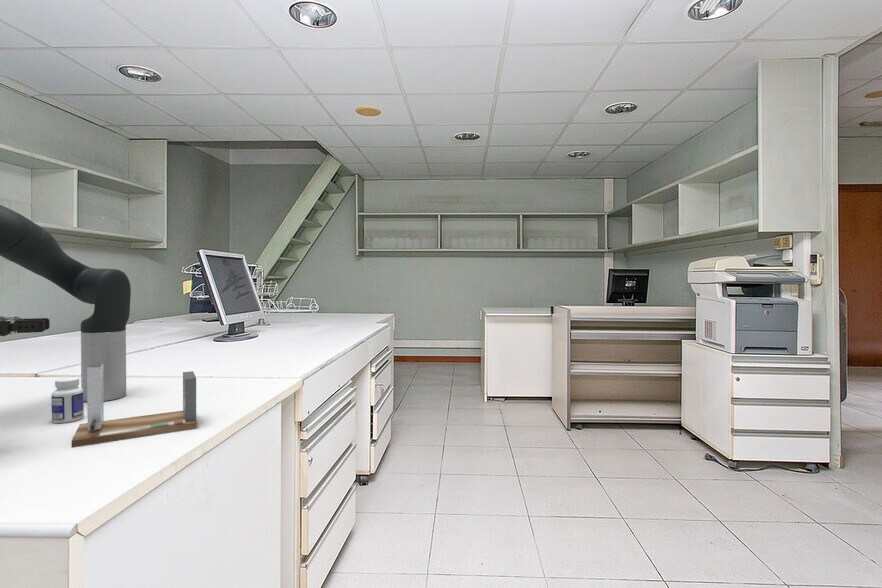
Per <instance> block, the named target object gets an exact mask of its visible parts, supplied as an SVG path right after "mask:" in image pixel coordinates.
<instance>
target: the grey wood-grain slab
mask: <svg viewBox="0 0 882 588" xmlns="http://www.w3.org/2000/svg"><path fill="white" fill-rule="evenodd" d="M182 411H183V414H184V419H185V422H190V421H197V377H196V374H195V373H194V371H183V372H182Z"/></svg>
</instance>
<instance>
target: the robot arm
mask: <svg viewBox="0 0 882 588" xmlns="http://www.w3.org/2000/svg"><path fill="white" fill-rule="evenodd" d="M0 257H2V258H3V259H6V260H8V261H10V262H12V263H14V264H16V265H19V266H20V267H22V268H24V269H26V270H28V271H30V272H31V273H33V274H36V275H38V276H40V277H42V278H45V279H46V280H48V281H49V282H52V283H53V284H55V285H56V286H58V287H59V288H60V289H62V290H63V291H65V292H67V293H68V294H69V295H70V296H72V297H74V298H75V299H76V300H78V301H80V302H82V303H84V304H89V305H93V306H94V307H93V312H92V314H91V315H90V316H89V317H88V318H87V317H86V318H85V319H83V320H82V321H81V323H80V377H81V378H80V388H82V389H83V402H86V403H87V367H88V366H89V365H90V363H97V362H103V391H104V402H105V401H112V400H116V399H121V398H124V397H126V396H127V330H126V329H127V323H128V321H129V318H130V311H131V298H132V297H131V295H132V294H131V293H132V292H131V291H132V289H131V287H132V286H131V283H130V280H129V277H128V275H127V274H126V273H125V272H124V271H122V270H120V269H116V268H95V267H90V266H88V265H86V264H83V263H81V262H80V261H78V260H77V259H74V258H72V257H71V256H69V255H68V254H67V253H66V252H65V251H64V250H63V249H62V248H61V245H60V244H59V242H58V241H57V240H56V238H55V237H54V236H53V235H52V234H51V233H49V231H48V230H46V229H44V227H42V226H40V225H38V224H37V223H36V222H33V221H32V220H30V219H29V218H27V217H26V216H24V215H22V214H21V213H19V212H18V211H15V210H13V209H11V208H8V207H6V206H5V205H4V206H3V205H2V204H0ZM50 323H51V322H50V318H48V317H44V318H43V317H38V318H37V317H36V318H23V317H19V316H14V317H9V316H7V317H6V316H4V315H0V337H6V336H14V335H16V334H27V333H28V334H29V333H43V332H45V331H46V330H49V329H50Z"/></svg>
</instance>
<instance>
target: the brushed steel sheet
mask: <svg viewBox="0 0 882 588" xmlns="http://www.w3.org/2000/svg"><path fill="white" fill-rule="evenodd" d="M86 403H87V406H86V407H87V411H86V412H87V414H86V415H87V423H88V431H89V430H97V429H101V427H102V424H103V421H105V420H104V419H105V417H104V415H105V413H104V406H105V404H104V403H105V401H104V391H103V362H97V363H90V365H89V366H88V367H87V402H86Z"/></svg>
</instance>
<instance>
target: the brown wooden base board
mask: <svg viewBox="0 0 882 588" xmlns="http://www.w3.org/2000/svg"><path fill="white" fill-rule="evenodd" d="M194 429H198V422H197V420H196V421H190V422H185V419H184V414H183V410H177V411H168V412H161V413H155V414H145V415H137V416H131V417H122V418H116V419H107V420H104V421H103V424H102V427H101V429H97V430H89V431H88V422H85V423H79V425H78V427H77V429H76V431H75V433H74V435H73V437H72V439H71V448H74V447H82V446H88V445H89V446H90V445H95V444H96V445H97V444H102V443H109V442H114V441H115V442H116V441H120V440H121V441H122V440H128V439H129V440H130V439H134V438H142V437H148V436H154V435H161V434H167V433H168V434H169V433H174V432H181V431H187V430H194Z"/></svg>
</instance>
